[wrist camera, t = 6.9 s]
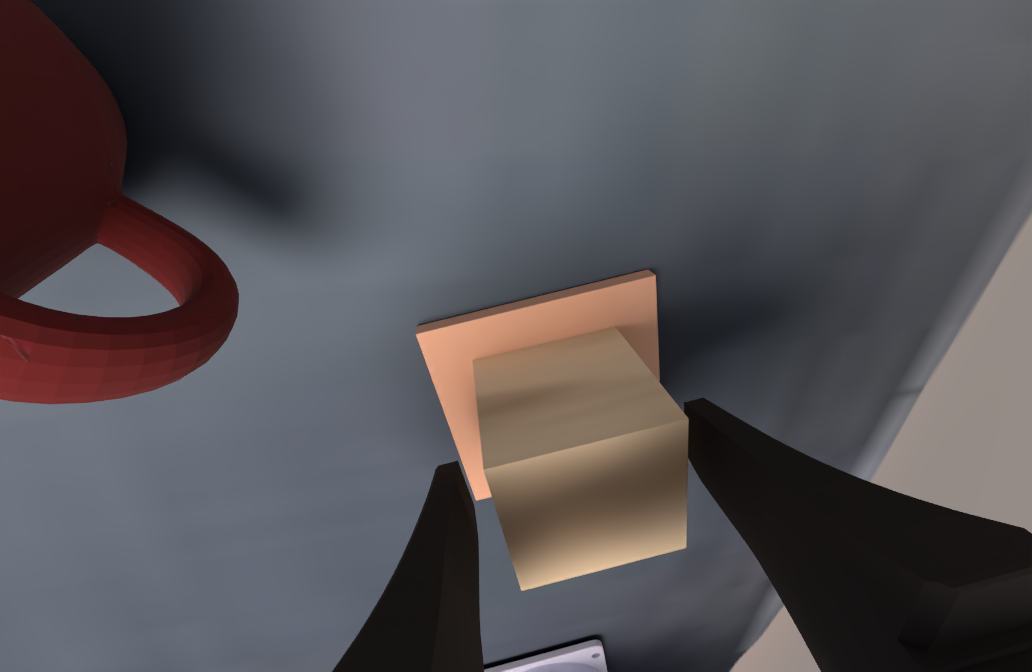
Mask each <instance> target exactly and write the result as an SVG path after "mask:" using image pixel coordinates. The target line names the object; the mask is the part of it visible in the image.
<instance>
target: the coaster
mask: <svg viewBox="0 0 1032 672" xmlns="http://www.w3.org/2000/svg"><path fill="white" fill-rule="evenodd" d="M614 326H615V327H616V328H617V329H618V331H619V332H620V333H621V335H622V336H623V337H624V338H625V340H626V341H627V342H628V343H629V345H630V346H631V347H632V348H633V350H634V351H635V352H636V353H637V355H638V356H639V357H640V358H641V360H642V361H643V362H644V363H645V365H646V366H647V367H648V368H649V370H650V371H651V372H652V373H653V375H654V376H655V377H656V378H657V380H658V381H659V382H660V373H659V346H658V320H657V294H656V275H655V274H653V273H652V272H651V271H650V270H643V271H639V272H635V273H631V274H627V275H623V276H619V277H615V278H611V279H607V280H603V281H599V282H595V283H590V284H586V285H582V286H578V287H574V288H570V289H566V290H562V291H558V292H554V293H550V294H546V295H542V296H537V297H533V298H529V299H525V300H521V301H517V302H513V303H509V304H505V305H501V306H497V307H493V308H489V309H484V310H480V311H476V312H472V313H468V314H464V315H460V316H456V317H452V318H448V319H444V320H440V321H436V322H431V323H427V324H423V325H419V326H417V330H416V336H417V339H418V341H419V344H420V347H421V350H422V352H423V355H424V358H425V361H426V364H427V366H428V369H429V372H430V375H431V377H432V380H433V383H434V386H435V388H436V391H437V394H438V397H439V399H440V402H441V405H442V408H443V410H444V413H445V416H446V419H447V421H448V424H449V427H450V430H451V432H452V435H453V438H454V441H455V444H456V446H457V449H458V452H459V455H460V457H461V460H462V463H463V466H464V468H465V471H466V474H467V477H468V479H469V482H470V485H471V488H472V490H473V493H474V496H475V499H476V501H477V500H481V499H485V498H488V497H492V495H491V492H490V489H489V486H488V483H487V479H486V476H485V473H484V470H483V460H482V451H481V441H480V431H479V422H478V412H477V402H476V392H475V383H474V373H473V363H472V360H475V359H479V358H483V357H488V356H492V355H496V354H500V353H504V352H509V351H513V350H517V349H521V348H525V347H530V346H534V345H538V344H542V343H546V342H551V341H555V340H559V339H563V338H567V337H572V336H576V335H580V334H584V333H588V332H593V331H597V330H601V329H605V328H609V327H614Z"/></svg>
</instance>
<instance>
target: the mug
mask: <svg viewBox="0 0 1032 672" xmlns="http://www.w3.org/2000/svg"><path fill="white" fill-rule="evenodd" d="M126 156H127V134H126V128H125V124H124V120H123V116H122V114H121V111H120V108H119V106H118V104H117V102H116V100H115V97H114V96H113V94H112V92H111V90H110V89H109V87H108V85H107V84H106V82H105V81H104V79H103V78H102V76H101V75H100V74H99V72H98V71H97V70H96V69H95V67H94V66H93V65H92V64H91V63H90V62H89V60H88V59H87V58H86V57H85V56H84V55H83V54H82V53H81V52H80V51H79V49H78V48H77V47H76V46H75V45H74V44H73V43H72V42H71V41H70V40H69V39H68V37H67V36H66V35H65V34H64V33H63V32H62V31H61V30H60V29H59V28H58V27H57V26H56V25H55V24H54V23H53V22H52V21H51V20H50V19H49V18H48V17H47V16H46V15H45V14H44V13H43V12H42V11H41V10H40V9H39V8H38V7H37V6H36V5H35V4H34V3H33V2H32V1H31V0H0V399H2V400H8V401H14V402H28V403H41V404H66V403H89V402H96V401H103V400H111V399H118V398H124V397H128V396H132V395H136V394H140V393H144V392H148V391H152V390H155V389H158V388H160V387H163V386H165V385H168V384H170V383H173V382H175V381H178V380H179V379H181V378H183V377H184V376H186V375H187V374H189V373H191V372H192V371H194V370H195V369H197V368H198V367H200V366H202V365H203V364H205V363H206V362H207V361H208V360H209V359H210V358H211V357H212V356H213V355H214V354H215V353H216V352H217V351H218V350H219V349H220V347H221V346H222V345H223V344H224V342H225V341H226V340H227V338H228V336H229V334H230V332H231V330H232V328H233V325H234V323H235V320H236V318H237V313H238V304H239V293H238V289H237V285H236V282H235V280H234V279H233V277H232V275H231V273H230V272H229V270H228V268H227V266H226V265H225V263H224V262H223V261H222V260H221V259H220V257H219V256H218V255H217V254H216V253H215V252H214V251H213V250H212V249H210V248H209V247H208V246H207V245H206V244H205V243H203V242H202V241H201V240H199V239H198V238H196V237H195V236H194V235H192V234H191V233H189V232H188V231H186V230H184V229H183V228H181V227H180V226H178V225H176V224H175V223H173V222H171V221H169V220H168V219H166V218H164V217H163V216H161V215H159V214H157V213H155V212H153V211H152V210H150V209H148V208H146V207H144V206H142V205H141V204H139V203H137V202H135V201H133V200H131V199H129V198H128V197H126V196H124V195H123V194H122V181H123V175H124V169H125V162H126ZM96 243H99V244H102V245H104V246H106V247H108V248H110V249H112V250H113V251H115V252H117V253H118V254H120V255H122V256H123V257H125V258H127V259H128V260H130V261H131V262H133V263H134V264H136V265H137V266H138V267H140V268H141V269H143V270H144V271H145V272H147V273H148V274H150V275H151V276H152V277H153V278H155V279H156V280H157V281H158V282H160V283H161V284H162V285H163V286H164V287H165V288H166V289H167V290H168V291H169V292H170V293H171V294H172V295H173V296H174V297H175V298H176V300H177V301H178V303H179V305H180V307H177V308H174V309H172V310H169V311H166V312H162V313H158V314H153V315H148V316H139V317H97V316H87V315H77V314H72V313H67V312H62V311H57V310H53V309H48V308H45V307H41V306H38V305H35V304H31V303H28V302H24V301H22V300H19V299H18V298H19V297H21V296H22V295H23V294H25V293H26V292H28V291H29V290H30V289H32V288H33V287H35V286H36V285H37V284H39V283H40V282H42V281H43V280H44V279H46V278H47V277H49V276H50V275H52V274H53V273H54V272H56V271H57V270H59V269H60V268H62V267H63V266H64V265H66V264H67V263H69V262H70V261H71V260H73V259H74V258H75V257H77V256H78V255H80V254H81V253H82V252H84V251H85V250H86V249H88V248H89V247H91V246H92V245H94V244H96Z"/></svg>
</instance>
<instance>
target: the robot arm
mask: <svg viewBox="0 0 1032 672" xmlns="http://www.w3.org/2000/svg"><path fill="white" fill-rule="evenodd" d="M684 414H685V415H686V416H687V417H688V419H689V423H688V458H689V460H690V462H691V464H692V466H693V467H694V469H695V471H696V473H697V474H698V476H699V478H700V480H701V481H702V483H703V484H704V485H705V487H706V488H707V490H708V491H709V492H710V494H711V495H712V497H713V498H714V499H715V501H716V502H717V503H718V505H719V506H720V508H721V509H722V510H723V512H724V513H725V514H726V516H727V517H728V519H729V520H730V521H731V523H732V524H733V525H734V527H735V528H736V529H737V531H738V532H739V534H740V535H741V536H742V538H743V539H744V540H745V542H746V543H747V545H748V546H749V548H750V549H751V551H752V552H753V554H754V555H755V556H756V558H757V560H758V561H759V563H760V564H761V566H762V568H763V570H764V571H765V573H766V575H767V576H768V578H769V580H770V581H771V583H772V585H773V586H774V588H775V590H776V591H777V593H778V595H779V596H780V598H781V600H782V602H783V603H784V605H785V607H786V609H787V610H788V612H789V614H790V616H791V617H792V619H793V621H794V623H795V624H796V626H797V628H798V630H799V632H800V633H801V635H802V637H803V639H804V641H805V642H806V645H807V646H808V648H809V650H810V652H811V654H812V655H813V657H814V659H815V661H816V663H817V665H818V667H819V668H820V670H821V672H1032V533H1030V532H1028V531H1027V530H1026V529H1024V528H1021V527H1017V526H1013V525H1009V524H1005V523H1001V522H998V521H994V520H990V519H986V518H982V517H978V516H974V515H970V514H967V513H963V512H959V511H956V510H952V509H949V508H945V507H942V506H939V505H935V504H932V503H929V502H926V501H922V500H919V499H916V498H913V497H910V496H907V495H904V494H901V493H898V492H896V491H892V490H890V489H887V488H884V487H882V486H879V485H876V484H873V483H871V482H868V481H865V480H863V479H860V478H858V477H855V476H853V475H850V474H848V473H845V472H843V471H841V470H838V469H836V468H834V467H831V466H829V465H827V464H824V463H822V462H820V461H818V460H816V459H813V458H811V457H809V456H807V455H805V454H803V453H801V452H799V451H797V450H795V449H793V448H791V447H789V446H787V445H785V444H783V443H781V442H779V441H778V440H776V439H774V438H772V437H770V436H768V435H766V434H765V433H763V432H761V431H759V430H757V429H756V428H754V427H752V426H750V425H749V424H747V423H745V422H743V421H742V420H740V419H738V418H737V417H735V416H733V415H732V414H730V413H728V412H727V411H725V410H723V409H721V408H720V407H718V406H716V405H715V404H713V403H711V402H710V401H708V400H706V399H704V398H700V399H696V400H693V401H689V402H685V403H684ZM332 672H608V671H607V666H606V661H605V656H604V650H603V646H602V643H601V641H599V640H590V641H587V642H583V643H579V644H576V645H572V646H568V647H565V648H561V649H558V650H554V651H550V652H547V653H543V654H539V655H536V656H532V657H528V658H525V659H521V660H517V661H514V662H510V663H507V664H503V665H499V666H496V667H492V668H488V669H485V670H484V665H483V655H482V645H481V635H480V616H479V547H478V532H477V523H476V515H475V508H474V504H473V501H472V498H471V495H470V493H469V490H468V487H467V485H466V482H465V479H464V476H463V474H462V471H461V468H460V466H459V463H458V461H455V462H451V463H447V464H443V465H440V466H438V467H437V468H436V470H435V474H434V477H433V480H432V483H431V486H430V489H429V492H428V495H427V498H426V501H425V504H424V506H423V509H422V511H421V514H420V516H419V519H418V521H417V524H416V526H415V529H414V531H413V534H412V536H411V538H410V540H409V542H408V545H407V547H406V549H405V551H404V553H403V556H402V558H401V560H400V562H399V564H398V566H397V568H396V570H395V572H394V574H393V576H392V578H391V580H390V581H389V583H388V585H387V587H386V589H385V590H384V592H383V594H382V596H381V598H380V599H379V601H378V603H377V604H376V606H375V608H374V609H373V611H372V613H371V614H370V616H369V618H368V619H367V621H366V623H365V624H364V626H363V627H362V629H361V630H360V632H359V634H358V635H357V637H356V638H355V640H354V641H353V642H352V644H351V645H350V647H349V648H348V650H347V651H346V653H345V654H344V655H343V657H342V658H341V660H340V661H339V663H338V664H337V665H336V667H335V668H334V670H333V671H332Z"/></svg>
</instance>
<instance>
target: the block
mask: <svg viewBox="0 0 1032 672" xmlns="http://www.w3.org/2000/svg"><path fill="white" fill-rule="evenodd" d="M472 363H473V373H474V383H475V392H476V402H477V412H478V422H479V431H480V441H481V451H482V460H483V470H484V473H485V476H486V479H487V483H488V486H489V489H490V492H491V495H492V499H493V502H494V505H495V508H496V511H497V514H498V518H499V521H500V524H501V527H502V530H503V534H504V537H505V540H506V543H507V546H508V549H509V553H510V556H511V559H512V562H513V565H514V569H515V572H516V575H517V578H518V581H519V584H520V588H521V591H523V590H527V589H531V588H535V587H539V586H542V585H546V584H550V583H554V582H558V581H562V580H565V579H569V578H573V577H577V576H581V575H584V574H588V573H592V572H596V571H600V570H604V569H607V568H611V567H615V566H619V565H623V564H627V563H630V562H634V561H638V560H642V559H646V558H650V557H653V556H657V555H661V554H665V553H669V552H673V551H676V550H680V549H684V548H686V532H687V478H688V423H689V419H688V417H687V416H686V415H685V414H684V412H683V411H682V410H681V409H680V407H679V406H678V405H677V404H676V402H675V401H674V400H673V399H672V397H671V396H670V395H669V394H668V392H667V391H666V390H665V389H664V387H663V386H662V385H661V384H660V382H659V381H658V380H657V378H656V377H655V376H654V375H653V373H652V372H651V371H650V370H649V368H648V367H647V366H646V365H645V363H644V362H643V361H642V360H641V358H640V357H639V356H638V355H637V353H636V352H635V351H634V350H633V348H632V347H631V346H630V345H629V343H628V342H627V341H626V340H625V338H624V337H623V336H622V335H621V333H620V332H619V331H618V329H617V328H616V327H615V326H614V327H609V328H605V329H601V330H597V331H593V332H588V333H584V334H580V335H576V336H572V337H567V338H563V339H559V340H555V341H551V342H546V343H542V344H538V345H534V346H530V347H525V348H521V349H517V350H513V351H509V352H504V353H500V354H496V355H492V356H488V357H483V358H479V359H475V360H472Z"/></svg>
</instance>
